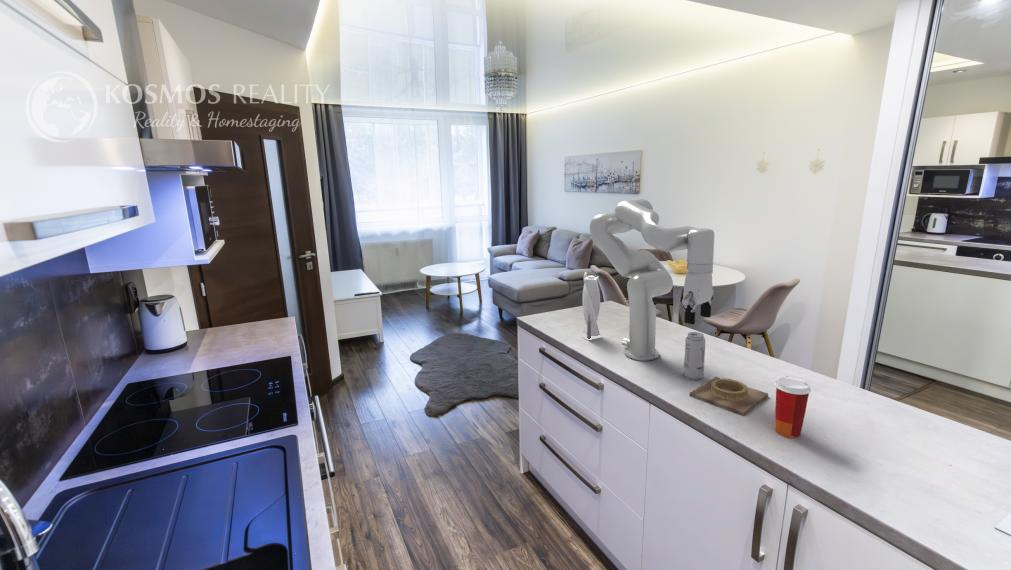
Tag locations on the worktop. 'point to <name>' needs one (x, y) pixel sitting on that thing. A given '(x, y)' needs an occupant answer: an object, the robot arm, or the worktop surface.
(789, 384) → the paper cup
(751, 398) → the ring stand
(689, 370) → the energy drink can
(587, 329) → the skyscraper
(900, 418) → the worktop surface
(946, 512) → the worktop surface
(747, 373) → the worktop surface
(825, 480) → the worktop surface
